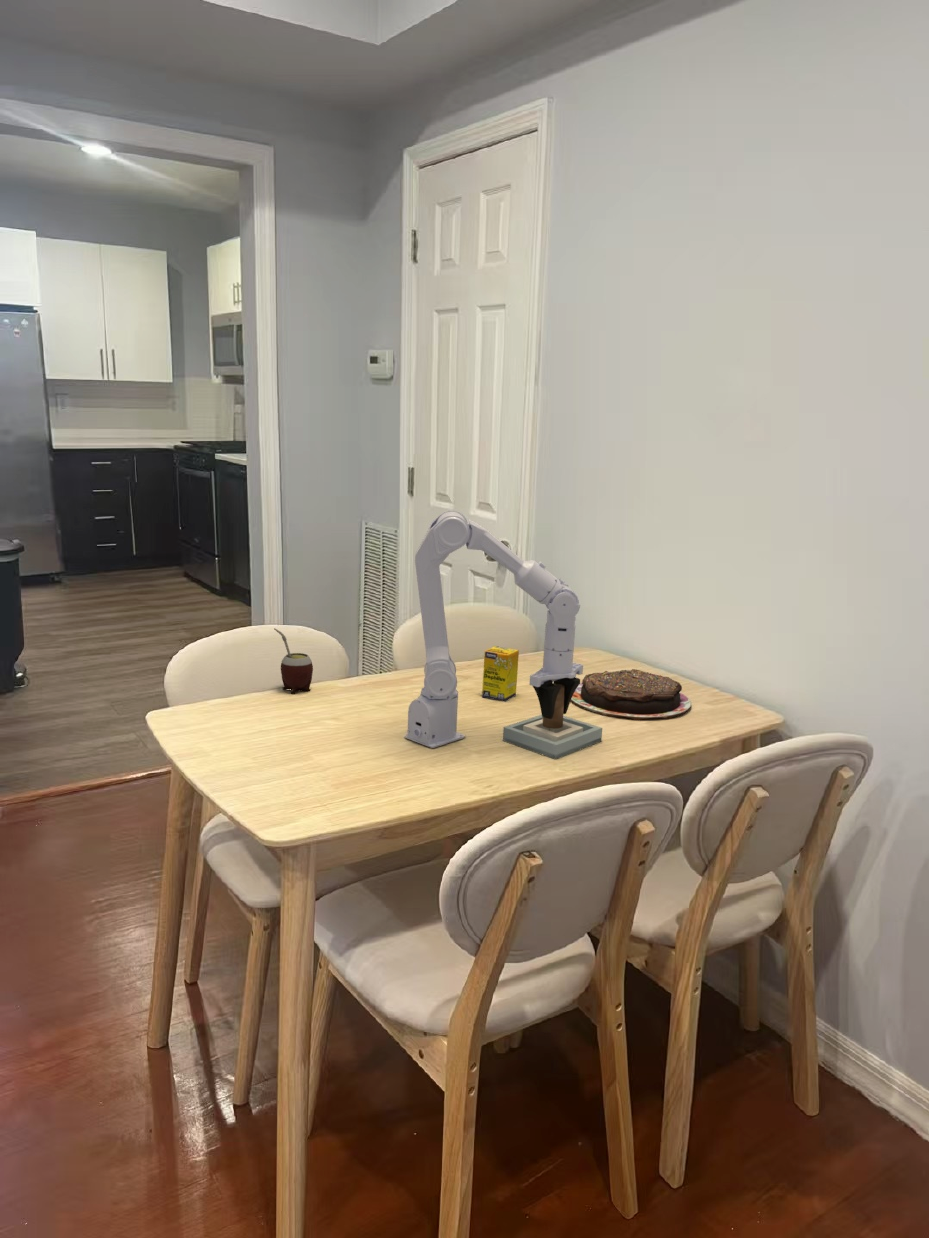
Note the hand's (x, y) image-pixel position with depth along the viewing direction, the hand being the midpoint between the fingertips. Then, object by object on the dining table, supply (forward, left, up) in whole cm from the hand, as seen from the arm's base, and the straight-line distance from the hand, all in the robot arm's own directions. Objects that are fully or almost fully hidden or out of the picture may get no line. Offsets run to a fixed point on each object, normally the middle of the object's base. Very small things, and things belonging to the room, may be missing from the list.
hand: (554, 715), depth 178 cm
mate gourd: (-19, +58, -6) cm, 61 cm away
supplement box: (+14, +26, -6) cm, 30 cm away
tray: (0, 0, -5) cm, 5 cm away
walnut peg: (0, 0, -2) cm, 2 cm away
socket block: (0, 0, -5) cm, 5 cm away
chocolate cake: (+35, +5, -6) cm, 36 cm away
